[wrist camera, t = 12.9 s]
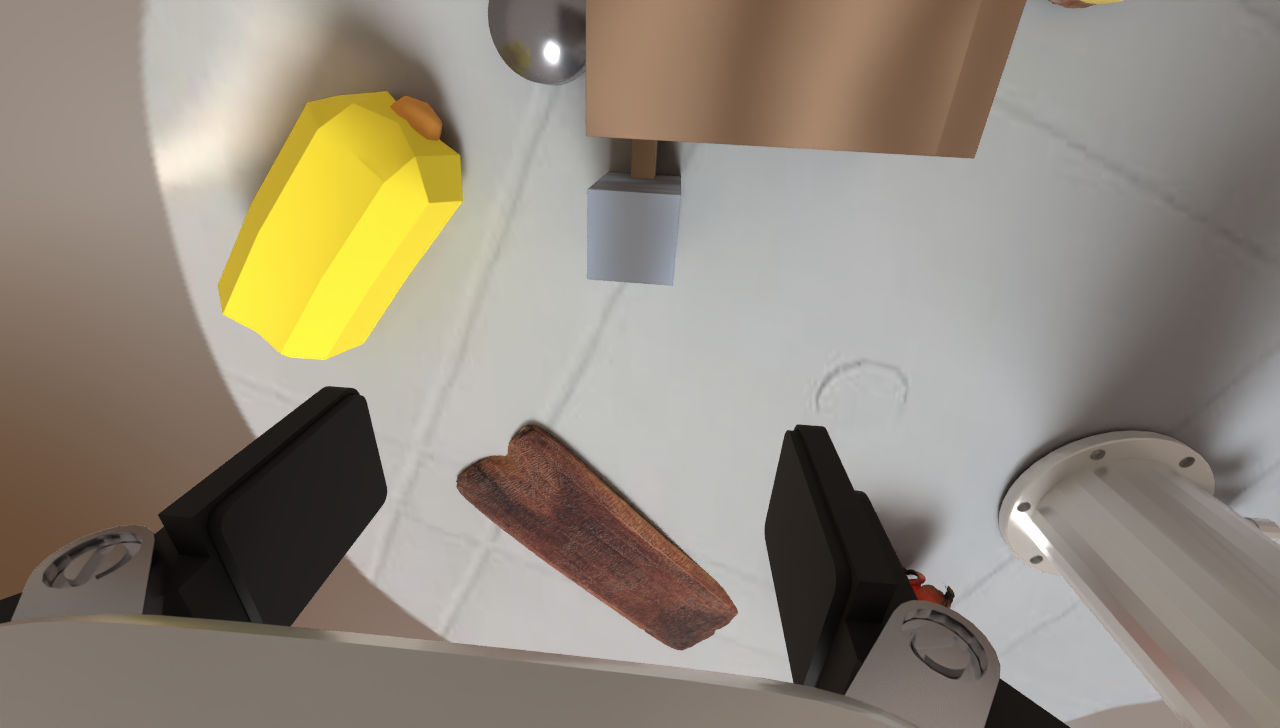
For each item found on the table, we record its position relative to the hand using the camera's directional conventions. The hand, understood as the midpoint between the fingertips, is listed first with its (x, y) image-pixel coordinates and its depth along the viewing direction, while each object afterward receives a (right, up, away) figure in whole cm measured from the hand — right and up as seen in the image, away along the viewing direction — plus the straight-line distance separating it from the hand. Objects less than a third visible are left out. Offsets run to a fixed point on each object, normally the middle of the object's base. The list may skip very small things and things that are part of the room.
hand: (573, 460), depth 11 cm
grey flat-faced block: (+2, +15, +15) cm, 21 cm away
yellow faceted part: (-15, +11, +19) cm, 27 cm away
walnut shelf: (+7, +18, +13) cm, 24 cm away
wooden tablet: (-1, -13, +30) cm, 33 cm away
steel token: (-3, +19, +14) cm, 24 cm away
